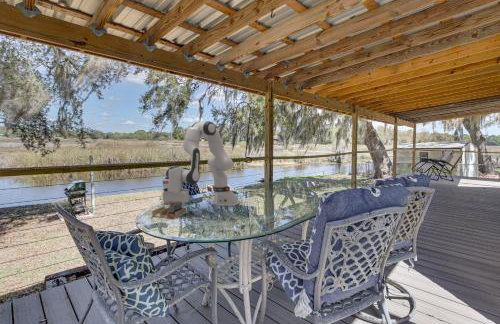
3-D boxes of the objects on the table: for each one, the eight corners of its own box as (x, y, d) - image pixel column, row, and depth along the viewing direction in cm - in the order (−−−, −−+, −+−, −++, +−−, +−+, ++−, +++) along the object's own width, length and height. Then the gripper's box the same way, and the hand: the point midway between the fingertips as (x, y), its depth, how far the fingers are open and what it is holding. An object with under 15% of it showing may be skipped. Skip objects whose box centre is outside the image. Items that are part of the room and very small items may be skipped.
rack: (186, 212, 208) (186, 207, 208) (174, 219, 192) (174, 213, 192) (164, 210, 214) (164, 205, 214) (150, 217, 198) (150, 211, 197)
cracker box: (182, 202, 239) (181, 178, 237) (180, 204, 233) (178, 179, 231) (166, 202, 240) (165, 178, 238) (163, 204, 235) (162, 179, 232)
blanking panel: (183, 211, 207) (182, 202, 206) (174, 216, 196) (173, 206, 195) (179, 211, 208) (179, 202, 207) (170, 215, 196) (169, 206, 196)
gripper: (190, 188, 200) (191, 207, 201) (165, 187, 206) (166, 205, 207) (186, 189, 194) (187, 209, 195) (160, 188, 200) (161, 207, 201)
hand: (176, 207), depth 201 cm, fingers open, 8 cm apart
